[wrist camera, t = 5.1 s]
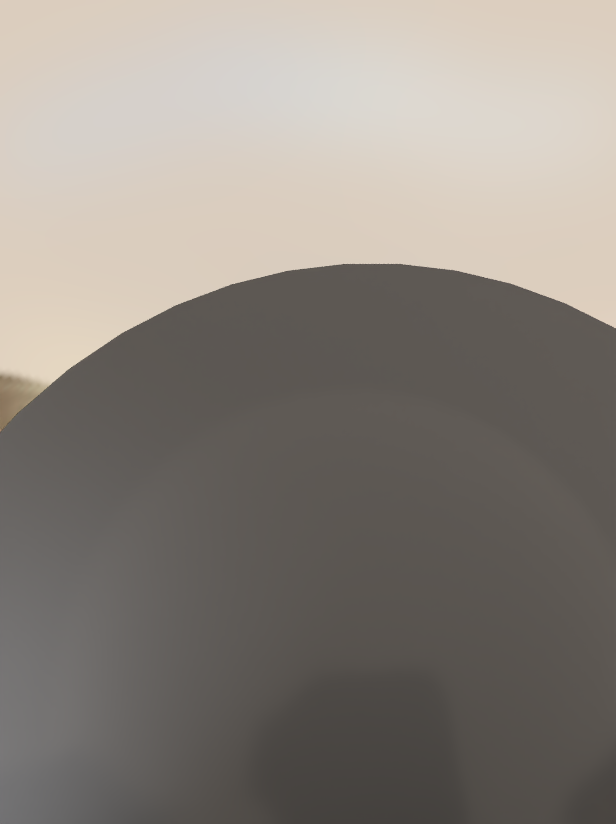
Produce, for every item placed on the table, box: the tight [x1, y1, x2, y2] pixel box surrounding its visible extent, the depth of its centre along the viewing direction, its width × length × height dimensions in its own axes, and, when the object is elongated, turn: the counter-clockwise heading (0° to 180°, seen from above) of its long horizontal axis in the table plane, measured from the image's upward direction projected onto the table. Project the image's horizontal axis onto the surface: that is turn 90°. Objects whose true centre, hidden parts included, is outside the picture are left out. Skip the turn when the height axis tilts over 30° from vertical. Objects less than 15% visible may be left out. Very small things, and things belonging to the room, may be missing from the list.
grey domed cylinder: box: [0, 264, 616, 824], centre depth 9 cm, size 6×6×13 cm
